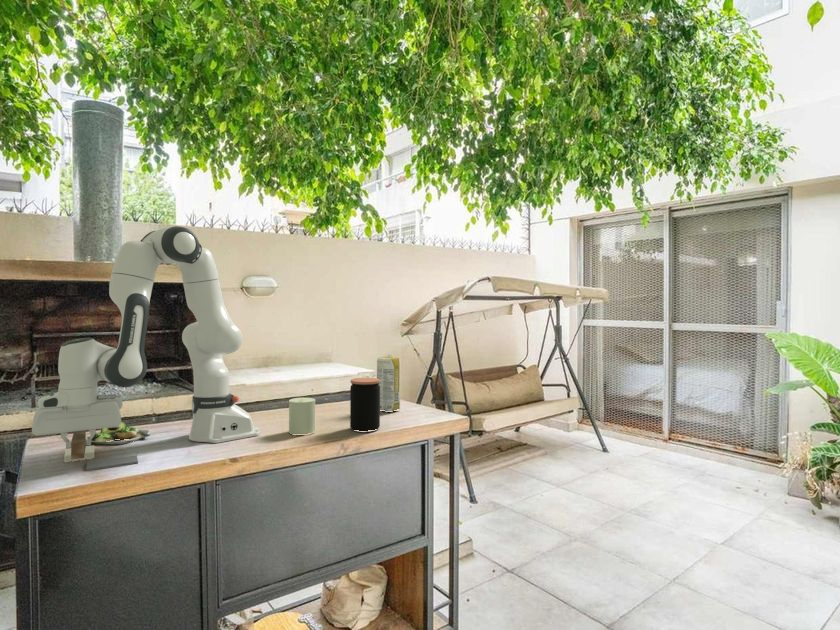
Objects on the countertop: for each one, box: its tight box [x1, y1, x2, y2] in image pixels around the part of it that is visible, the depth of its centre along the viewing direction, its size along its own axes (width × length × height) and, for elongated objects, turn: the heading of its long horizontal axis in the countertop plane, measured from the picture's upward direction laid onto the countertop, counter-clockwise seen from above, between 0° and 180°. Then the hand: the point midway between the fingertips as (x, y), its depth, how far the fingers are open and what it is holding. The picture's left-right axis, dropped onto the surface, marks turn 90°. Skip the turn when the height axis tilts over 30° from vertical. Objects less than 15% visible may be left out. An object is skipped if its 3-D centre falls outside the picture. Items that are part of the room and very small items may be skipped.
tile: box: [63, 445, 95, 463], centre depth 144 cm, size 7×2×8 cm
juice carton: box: [376, 353, 401, 411], centre depth 209 cm, size 9×8×24 cm
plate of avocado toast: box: [86, 421, 151, 445], centre depth 164 cm, size 19×18×5 cm
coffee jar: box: [349, 377, 381, 431], centre depth 178 cm, size 11×11×18 cm
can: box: [288, 397, 316, 434], centre depth 173 cm, size 9×9×12 cm
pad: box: [85, 454, 139, 472], centre depth 138 cm, size 12×7×1 cm, turn 122°
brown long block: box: [70, 430, 87, 460], centre depth 136 cm, size 3×12×4 cm, turn 32°
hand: (78, 446), depth 136 cm, fingers closed on brown long block, 3 cm apart
